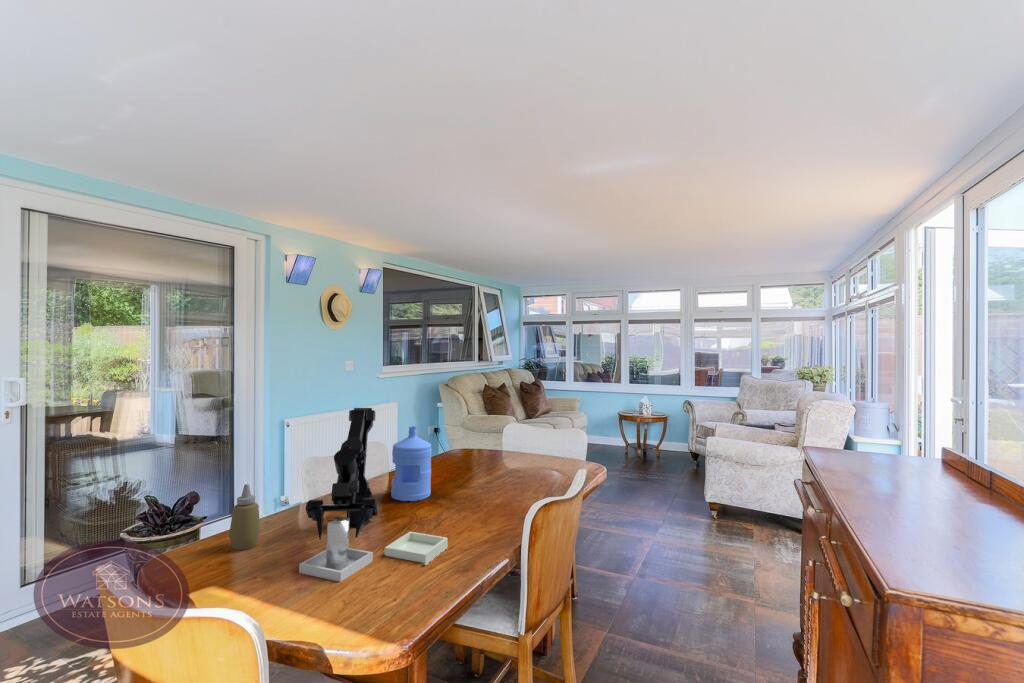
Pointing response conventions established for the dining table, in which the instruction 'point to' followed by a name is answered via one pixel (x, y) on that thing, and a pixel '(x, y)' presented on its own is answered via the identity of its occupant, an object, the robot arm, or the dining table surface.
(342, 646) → the dining table surface
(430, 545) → the sage bin
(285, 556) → the dining table surface
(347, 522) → the brushed metal cylinder
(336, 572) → the grey bin
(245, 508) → the squeeze bottle
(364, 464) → the robot arm
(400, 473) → the water jug
